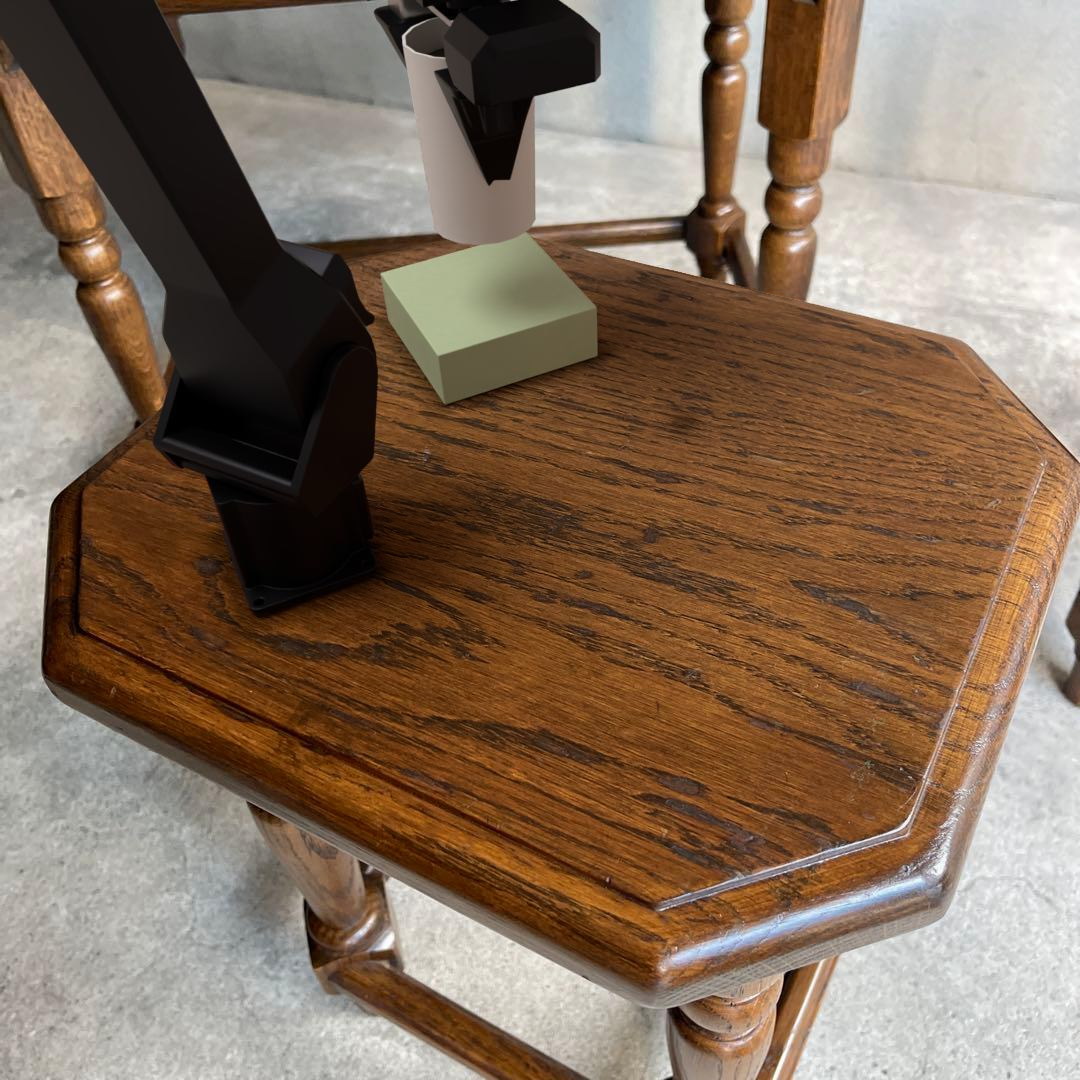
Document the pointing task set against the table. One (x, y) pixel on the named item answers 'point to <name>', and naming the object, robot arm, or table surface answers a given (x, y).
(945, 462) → the table surface
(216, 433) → the robot arm
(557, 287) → the riser block
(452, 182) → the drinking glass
